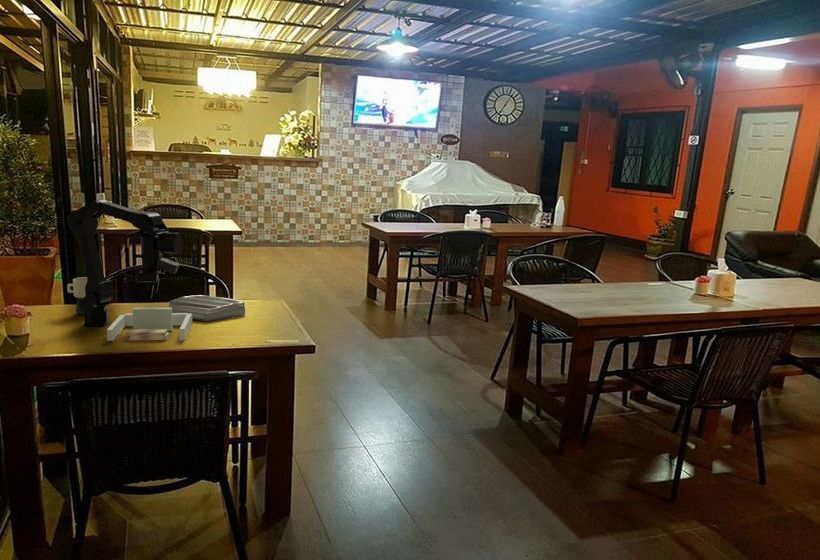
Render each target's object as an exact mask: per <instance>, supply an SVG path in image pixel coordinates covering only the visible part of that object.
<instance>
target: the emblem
mask: <svg viewBox="0 0 820 560" xmlns="http://www.w3.org/2000/svg"><path fill="white" fill-rule="evenodd" d="M168 308H172V313H192V321H193V320H194V321H199V322H200V321H201V322H214V320H215V321H220V320H221V319H222V320H228V319H233V318H232V317H234V318H238V317H237V316H240V317H243V316H242V315H245V316H246V307H245V302H244V301H241V300H237V299H233V298H227V297H219V296H213V295H204V294H202V295H201V294H199V295H188V296H185V295H184V296H180V297H177V298H175V299H172V300H170V301H169V303H168ZM227 318H228V319H227ZM222 320H221V321H222Z"/></svg>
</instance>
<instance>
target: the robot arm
mask: <svg viewBox="0 0 820 560" xmlns="http://www.w3.org/2000/svg"><path fill="white" fill-rule="evenodd" d="M103 215H107V216H108V217H111V218H115V219H118V220H120V221H124V222H127V223H129V224H131V225H132V226H133V227H134V228H136V229H138V232H136V233H135V234H134V237H135V238H140V247H141V251H140V252H141V254H140V255H139V258H140V259H141V267H140V271H139V272H138V273H137V274H135V282H137V284H138V285H139V287H140V289H141V290H142V292H143V294H144V296H145V298H146V300H147V301H152V298H153V295H157V293H158V288H159V285H160V284H159V283H160V279H161V278H162V277H163V276H164V275H165V272H167V273H169V274H172V275H175V274H177V272H178V268H179V265H180V263H179V262H178V260H177V258H176V257H174V256H172V257H170V258H169V259H168V258H164V257H163V254H162V253H166V254H175V255H179V254H181V253H182V252H183V250H184V245H185V244H184V243H185V242H184V240H183V238H182V236H180V235H181V234H180V232H171V231H170V230H169V229H168V227H167V225H166V224H165V222H164V221H163V218H162V215H161V214H160V213H158V212H152V211H141V210H135V209H133V208H129V207H126V206H122V205H119V204H117V203H113V202H111V201H108V200H106V199H95V200H93V201H91V202H90V203H88V204H86V205H84V206H81V207H80V208H78V209H75V210H70V212H69V213H68V215H67V216H66V219H67V224H68V225H69V228H70V230H71V232H73V234H74V235H75V237H77V240H78V243H79V247H80V251H81V252H80V253H81V257H82V261H83V265H84V270H85V274H86V277H87V283H86V286H85V297H84V298H83V299H82V300H81V301H80V302H79V306H80V309H84V314H83V315H84V323H83V327H104V326H106V324H108V322H109V321H110V319H109V310H108V309H107V306H108V305H110V303H111V300H112V299H113V297H114V295H115V294H114V292H115V289H114V286H113V281H112V280H111V279H109V280H108V279H107V277H105V276H104V272H103V267H102V263H101V259H100V254H99V250H98V246H97V241H96V237H95V234H96V230H97V227H98V224H97V220H98V219H100V218H101V217H103Z"/></svg>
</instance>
